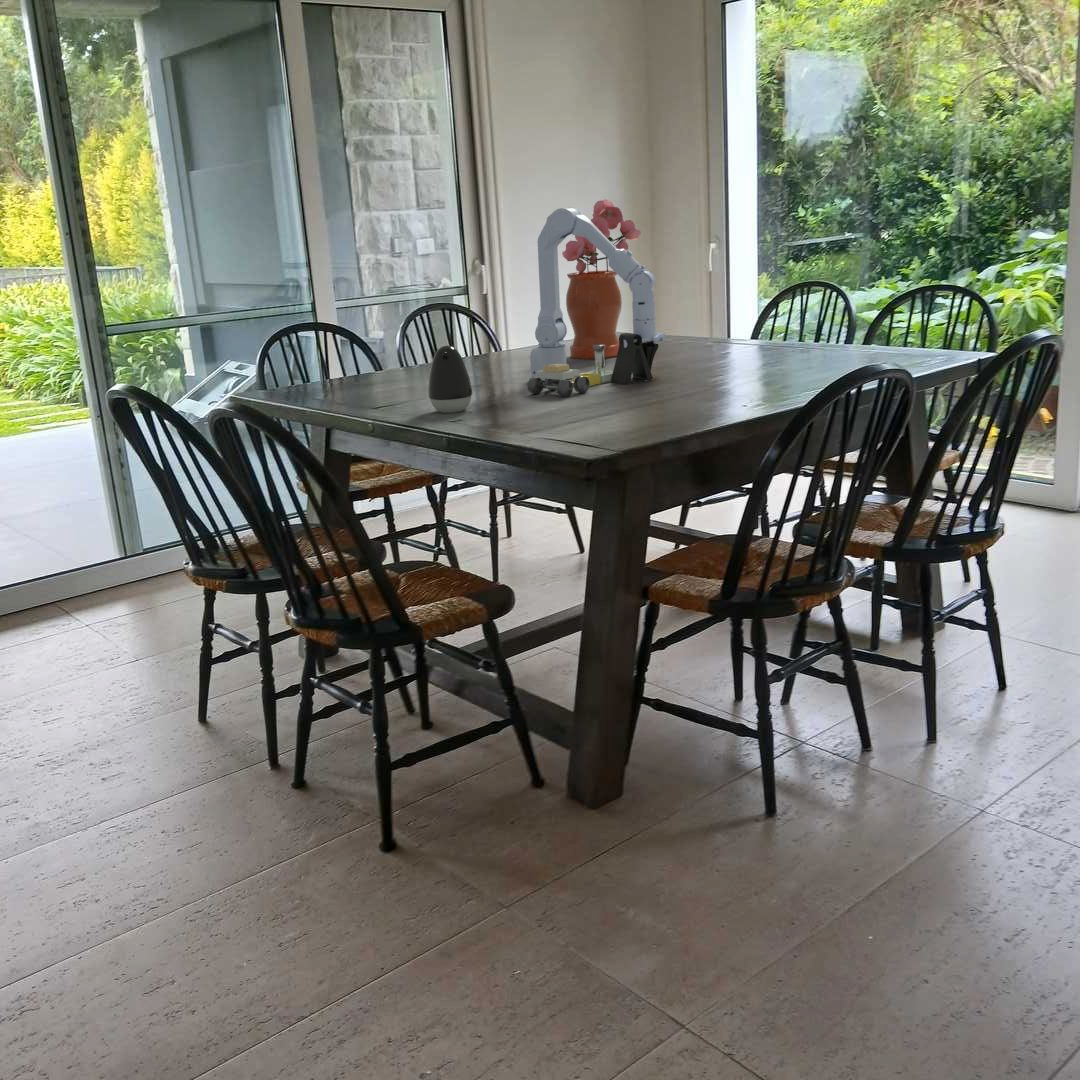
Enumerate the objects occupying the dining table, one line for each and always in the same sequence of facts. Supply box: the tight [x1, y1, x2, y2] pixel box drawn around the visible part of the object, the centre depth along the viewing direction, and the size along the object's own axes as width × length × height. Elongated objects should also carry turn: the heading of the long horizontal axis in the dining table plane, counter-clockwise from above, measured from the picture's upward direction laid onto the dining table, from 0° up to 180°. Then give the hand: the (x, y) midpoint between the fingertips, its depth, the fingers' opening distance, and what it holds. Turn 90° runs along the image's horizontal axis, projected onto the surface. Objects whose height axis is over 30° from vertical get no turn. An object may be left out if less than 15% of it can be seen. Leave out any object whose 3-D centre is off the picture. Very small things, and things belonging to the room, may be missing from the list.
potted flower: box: [561, 199, 641, 360], centre depth 331 cm, size 19×25×45 cm
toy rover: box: [527, 363, 590, 398], centre depth 274 cm, size 12×10×7 cm
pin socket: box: [572, 372, 602, 387], centre depth 285 cm, size 5×5×2 cm
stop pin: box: [593, 345, 606, 375], centre depth 288 cm, size 3×3×9 cm
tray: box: [585, 369, 613, 384], centre depth 290 cm, size 8×7×2 cm
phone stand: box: [610, 332, 654, 385], centre depth 285 cm, size 9×6×12 cm, turn 122°
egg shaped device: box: [427, 345, 473, 414], centre depth 258 cm, size 10×10×15 cm
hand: (645, 372), depth 290 cm, fingers closed
